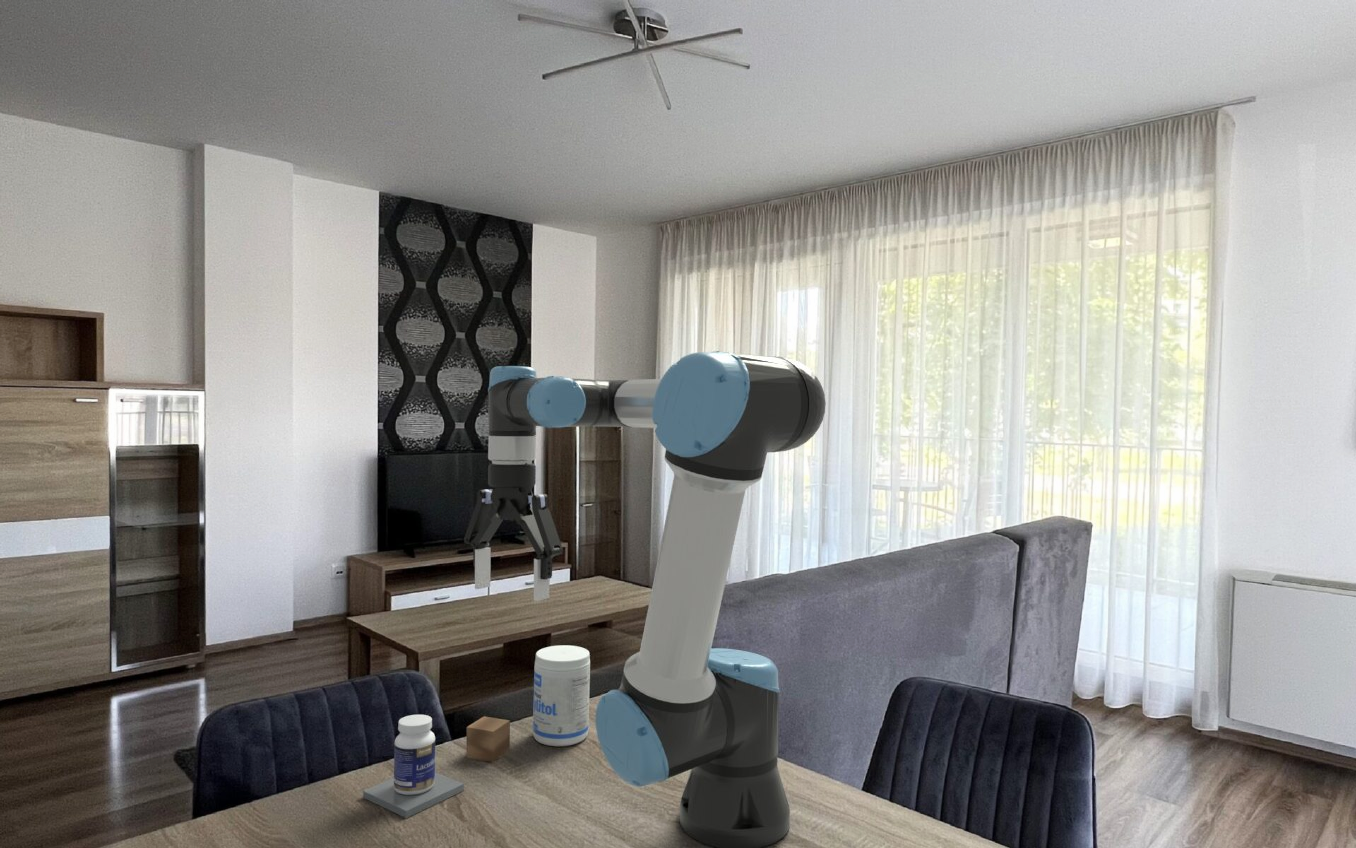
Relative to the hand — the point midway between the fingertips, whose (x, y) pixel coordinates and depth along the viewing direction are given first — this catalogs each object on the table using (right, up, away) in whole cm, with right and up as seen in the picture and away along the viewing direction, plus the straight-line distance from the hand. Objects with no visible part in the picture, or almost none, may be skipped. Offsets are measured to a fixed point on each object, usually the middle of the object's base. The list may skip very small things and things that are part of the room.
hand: (511, 593), depth 130 cm
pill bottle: (-12, -26, -12) cm, 31 cm away
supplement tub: (+7, -27, +9) cm, 29 cm away
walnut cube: (-4, -27, +2) cm, 27 cm away
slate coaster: (-12, -27, -12) cm, 32 cm away
